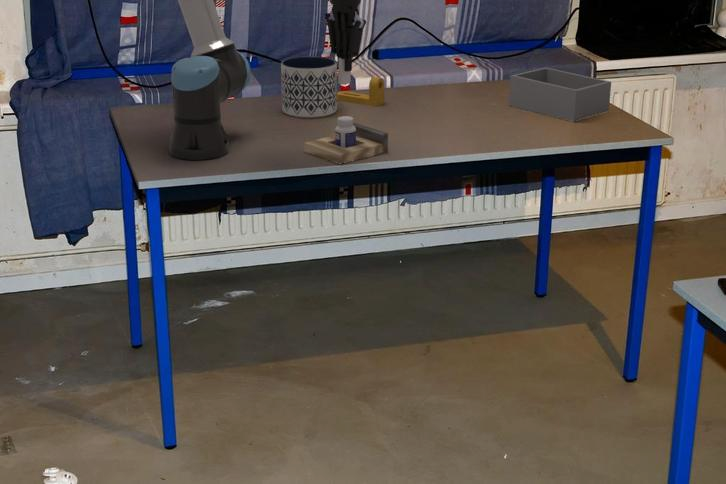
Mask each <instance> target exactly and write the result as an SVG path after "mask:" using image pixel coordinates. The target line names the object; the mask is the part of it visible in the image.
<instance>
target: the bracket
mask: <svg viewBox="0 0 726 484" xmlns="http://www.w3.org/2000/svg"><path fill="white" fill-rule="evenodd" d="M337 101H340V102H346V103H352V104H357V105H365V106H369V107H376V108H377V107H380V106H381V105H382V106H383V105H384V104H385V79H384V78H383V77H379V76H378V77H377V76H372V77H371V78H370V80H369V84H368V94H364V93H358V92H352V91H337Z"/></svg>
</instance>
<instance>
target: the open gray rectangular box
mask: <svg viewBox="0 0 726 484" xmlns="http://www.w3.org/2000/svg"><path fill="white" fill-rule="evenodd" d="M509 77H510V79H509V80H510V81H509V97H508V99H509V101H508V106H509V107H513V108H516V109H520V110H524V111H528V112H532V111H533V112H532V113H535V112H537V113H536V114H539V113H541V114H540V115H543V114H545V116H547V115H550V116H549V117H551V116H554V117H553V118H555V117H559V118H562V119H561V120H563V119H567V120H571V121H576V120H579V119H582V118H585V117H588V116H592V115H595V114H599V113H602V112H606V111H609V112H610V102H611V92H612V90H611V89H612V81H610V80H609V81H608V80H605V79H600V78H595V77H590V76H586V75H582V74H578V73H573V72H568V71H563V70H560V69H554V68H550V67H541V68H538V69H534V70H529V71H525V72H521V73H516V74H512V75H510V76H509ZM559 118H558V119H559ZM567 120H566V121H567Z"/></svg>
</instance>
